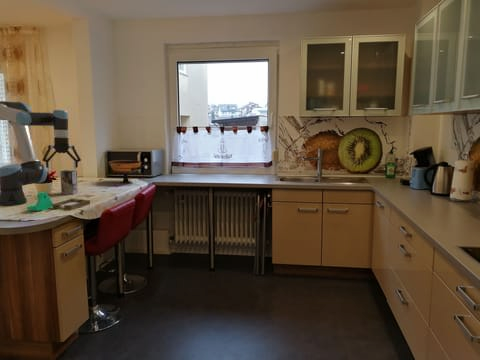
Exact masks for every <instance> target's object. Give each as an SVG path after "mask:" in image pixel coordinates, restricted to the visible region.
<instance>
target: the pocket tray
mask: <svg viewBox="0 0 480 360" xmlns="http://www.w3.org/2000/svg"><path fill="white" fill-rule="evenodd" d="M90 204H91V200H90V199H81V198H80V199H79V198H70V199H66V200H62V201H59V202H56V203H53V206H52V209H56V208H57V210H58V209H59V210H66V209H67V211H74V210H76V209H80V208H82V207H85V206H88V205H90Z"/></svg>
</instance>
